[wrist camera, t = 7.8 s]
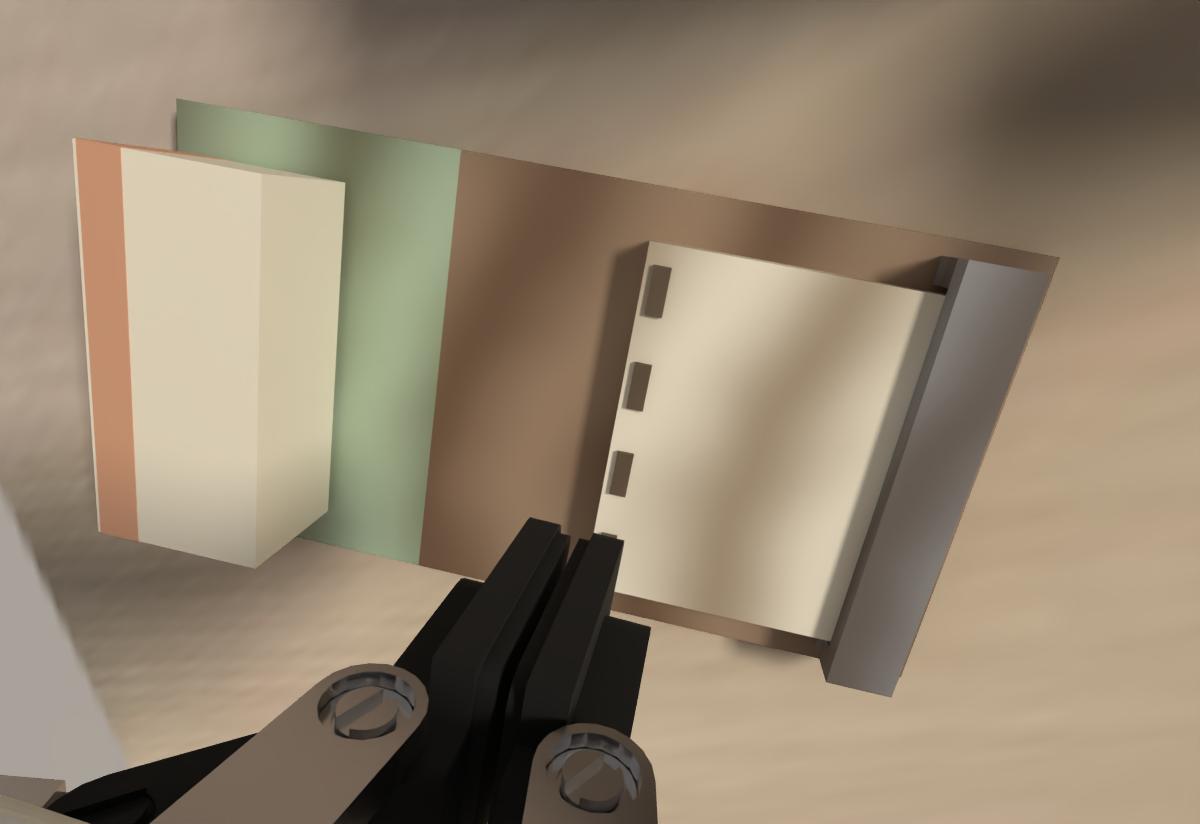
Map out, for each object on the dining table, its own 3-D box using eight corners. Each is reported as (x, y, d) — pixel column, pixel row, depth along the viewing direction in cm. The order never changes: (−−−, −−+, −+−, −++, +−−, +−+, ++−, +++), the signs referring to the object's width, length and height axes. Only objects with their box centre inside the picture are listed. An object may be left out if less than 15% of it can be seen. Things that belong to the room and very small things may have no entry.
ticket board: (1041, 255, 19) (1100, 261, 16) (891, 658, 23) (919, 718, 20) (199, 104, 21) (124, 86, 18) (204, 499, 25) (143, 534, 22)
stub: (345, 182, 20) (260, 172, 16) (328, 511, 23) (254, 569, 19) (190, 152, 20) (71, 137, 16) (195, 480, 23) (97, 532, 19)
